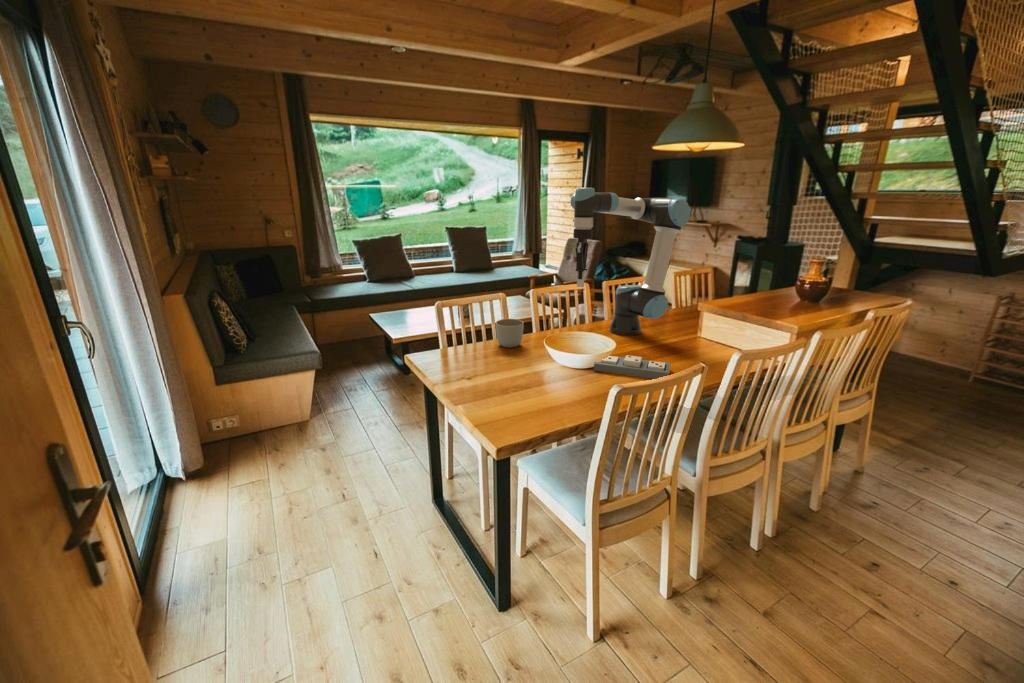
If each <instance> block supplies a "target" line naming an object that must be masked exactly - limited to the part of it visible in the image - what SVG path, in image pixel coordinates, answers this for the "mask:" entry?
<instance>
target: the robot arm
mask: <svg viewBox="0 0 1024 683" xmlns="http://www.w3.org/2000/svg"><path fill="white" fill-rule="evenodd" d="M570 206H571V207H572V209H573V210H574V214H573V216H574V219H572V222H573V228H574V229H573V236H572V237H573V239H576V240H578V241H577V243H576V247H575V257H576V260H575V262H576V263H575V264H576V265H575V267H576V268H575V272H577V273H576V274H577V276H576V287H578V288H579V287H580V288H584V287H585V276H586V275H585V273H586V271H587V270H588V269H587V262H588V261H587V260H588V252H589V250H588V249H589V246H590V245H589V242H588V240H590V239H593V233H594V232H593V229H592V228H594V213H600V214H609V215H616V216H625V217H631V219H633V220H638V221H642V222H646V223H650V224H654V225H653V228H654V230H655V236H654V240H653V243H652V249H651V254H650V257H649V262H648V266H647V270H646V274H645V277H644V278H645V279H644V283H643V284H641V285H640V284H639V285H638V284H629V285H628V284H625V285H620V286H617V288H616V291H615V298H614V299H615V302H614V315H613V318H612V320H611V323H610V325H609V331H610V332H611V333H613V334H616V335H620V336H638V335H640V334H641V333H642V325H641V321H640V317H643V318H645V319H650V320H657V319H659V318H661V316H663V315H664V314H665V313H666V311H667V309H668V306H669V301H668V298H667V297H666V296H665V295H666V290H665V288H664V284H665V282H666V281H665V280H666V277H667V272H668V269H669V268H668V267H669V263H670V260H671V257H672V256H671V255H672V251H673V249H674V244H675V239H676V235H677V234H678V233H680V232H681V229H682V227H683V226H686V225H687V223H688V222H689V220H690V218H691V208H690V205H689V203H688V202H687V200H685V199H684V198H678V197H643V198H642V197H636V198H634V199H633V198H626V197H620V196H618V195H617V193H615V192H596V190H595V188H594V187H577V188H576V190H575V191H574V193H573V194H572V196H571V198H570Z"/></svg>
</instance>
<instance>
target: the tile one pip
mask: <svg viewBox="0 0 1024 683" xmlns="http://www.w3.org/2000/svg"><path fill="white" fill-rule="evenodd" d="M618 357H619V356H616V357H614V355H608V357H607V358H605V359H602V360H601V363H609V364H618Z"/></svg>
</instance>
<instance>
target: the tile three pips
mask: <svg viewBox="0 0 1024 683" xmlns="http://www.w3.org/2000/svg"><path fill="white" fill-rule="evenodd" d="M648 361H649V364H648V369H655V370H663V371H664V369H665V363H666V362H665V363H663V362H662V361H656V360H648ZM655 361H656V362H655Z"/></svg>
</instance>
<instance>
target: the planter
mask: <svg viewBox="0 0 1024 683" xmlns="http://www.w3.org/2000/svg"><path fill="white" fill-rule="evenodd" d="M495 331H496V332H495V333H496V340H497V341H496V342H497V343H498V344H499V345H500V346H502V348H503V347H504V348H508V349H509V348H510V349H511V348H516V347H518V346H519V345H521V343H522V341H523V336H524V335H523V334H524V321H522V320H521V319H517V318H503V319H499V320H496V321H495Z"/></svg>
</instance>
